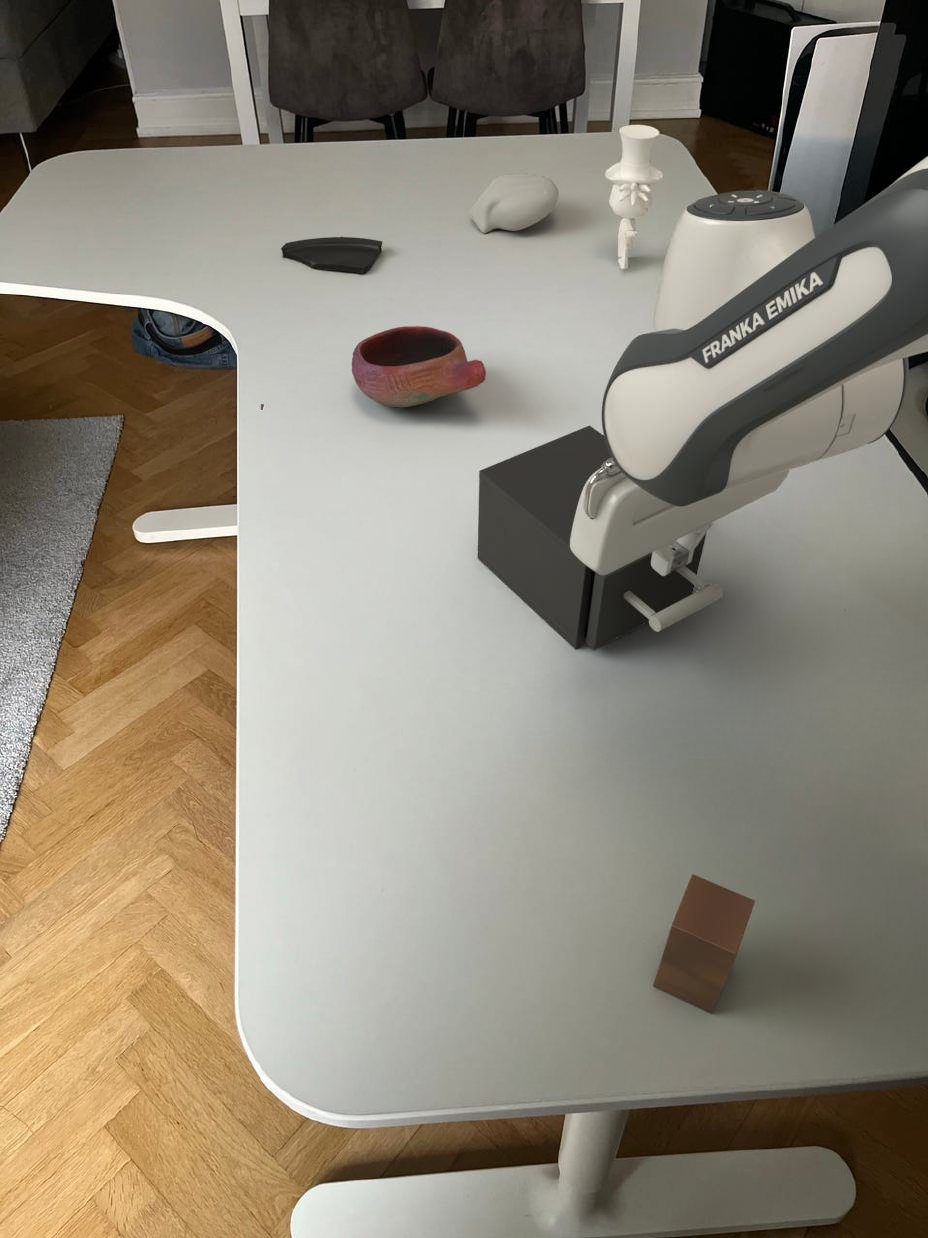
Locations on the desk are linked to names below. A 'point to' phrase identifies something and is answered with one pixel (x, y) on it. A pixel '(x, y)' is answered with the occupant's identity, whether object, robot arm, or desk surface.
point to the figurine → (632, 183)
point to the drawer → (644, 598)
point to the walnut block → (703, 943)
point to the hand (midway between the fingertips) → (670, 565)
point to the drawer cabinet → (541, 527)
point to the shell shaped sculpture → (514, 202)
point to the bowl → (413, 366)
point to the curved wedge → (334, 253)
